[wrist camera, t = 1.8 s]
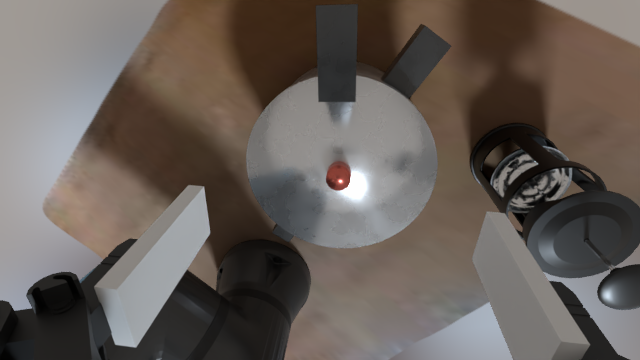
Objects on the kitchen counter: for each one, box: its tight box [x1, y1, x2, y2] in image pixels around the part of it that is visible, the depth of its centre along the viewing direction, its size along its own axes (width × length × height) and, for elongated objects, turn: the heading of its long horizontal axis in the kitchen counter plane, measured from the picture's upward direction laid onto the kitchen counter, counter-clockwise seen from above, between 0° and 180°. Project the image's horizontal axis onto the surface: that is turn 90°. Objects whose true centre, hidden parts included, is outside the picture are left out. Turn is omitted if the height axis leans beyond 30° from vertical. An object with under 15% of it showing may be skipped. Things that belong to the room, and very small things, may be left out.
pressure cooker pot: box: [272, 24, 451, 242], centre depth 40 cm, size 28×18×10 cm, turn 146°
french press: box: [470, 123, 640, 310], centre depth 34 cm, size 12×9×23 cm
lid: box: [246, 4, 438, 248], centre depth 32 cm, size 24×19×5 cm
